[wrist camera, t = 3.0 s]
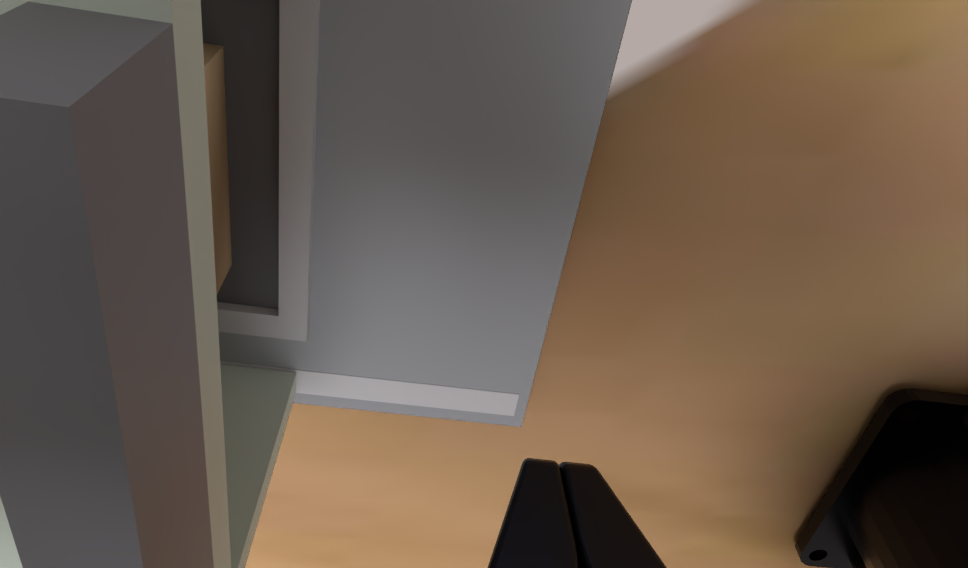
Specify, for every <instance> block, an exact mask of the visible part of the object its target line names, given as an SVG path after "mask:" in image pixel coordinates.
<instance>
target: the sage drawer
mask: <svg viewBox="0 0 968 568" xmlns="http://www.w3.org/2000/svg"><path fill="white" fill-rule="evenodd" d="M295 393H296V373H294V372H285V371H276V370H267V369H258V368H249V367H240V366H231V365H222V364H220V349H219V331H218V312H217V294H216V275H215V257H214V238H213V220H212V201H211V183H210V164H209V146H208V127H207V109H206V90H205V72H204V53H203V35H202V16H201V0H0V568H245V566H246V562H247V559H248V555H249V552H250V548H251V545H252V541H253V538H254V535H255V531H256V528H257V524H258V521H259V517H260V514H261V510H262V507H263V504H264V500H265V497H266V493H267V490H268V486H269V483H270V479H271V476H272V473H273V469H274V466H275V462H276V459H277V455H278V452H279V449H280V445H281V442H282V438H283V435H284V431H285V428H286V424H287V421H288V418H289V414H290V411H291V407H292V404H293V400H294V397H295Z"/></svg>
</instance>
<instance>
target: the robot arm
mask: <svg viewBox="0 0 968 568" xmlns="http://www.w3.org/2000/svg"><path fill="white" fill-rule="evenodd" d="M795 547H796V550H797V553H798V555H799V557H800V560H801V562H802V563H804V564H805V565H809V566H818V567H829V568H968V395H961V394H952V393H944V392H935V391H927V390H918V389H903V390H900V391H897V392H895V393H893V394H891V395H890V396H888V397H887V399H886V400H885V401H884V402H883V404H882V405H881V407H880V408H879V410H878V412H877V413H876V415H875V416H874V418H873V420H872V421H871V423H870V424H869V426H868V428H867V429H866V431H865V432H864V434H863V436H862V437H861V439H860V440H859V442H858V444H857V445H856V447H855V448H854V450H853V452H852V453H851V455H850V456H849V458H848V460H847V461H846V463H845V464H844V466H843V468H842V469H841V471H840V472H839V474H838V476H837V477H836V479H835V480H834V482H833V484H832V485H831V487H830V488H829V490H828V492H827V493H826V495H825V496H824V498H823V500H822V501H821V503H820V504H819V506H818V508H817V509H816V511H815V512H814V514H813V516H812V517H811V519H810V520H809V522H808V524H807V525H806V527H805V528H804V530H803V532H802V533H801V535H800V536H799V538H798V540H797V541H796V544H795ZM488 568H666V566H665V565H664V563H663V562H662V560H661V559H660V558H659V556H658V555H657V553H656V552H655V550H654V549H653V548H652V546H651V545H650V543H649V542H648V541H647V539H646V538H645V536H644V535H643V533H642V532H641V531H640V529H639V528H638V526H637V525H636V523H635V522H634V521H633V519H632V518H631V516H630V515H629V513H628V512H627V511H626V509H625V508H624V506H623V505H622V503H621V502H620V501H619V499H618V498H617V496H616V495H615V493H614V492H613V491H612V489H611V488H610V486H609V485H608V484H607V482H606V481H605V479H604V478H603V476H602V475H601V474H600V472H599V471H598V470H597V468H595V467H594V466H592V465H590V464H581V463H572V462H562V463H560V464H559V465H558V463H556V462H555V461H552V460H542V459H532V458H527V459H525V460H524V461H523V463H522V466H521V469H520V472H519V475H518V478H517V481H516V484H515V487H514V490H513V493H512V496H511V499H510V502H509V505H508V508H507V511H506V514H505V517H504V520H503V523H502V526H501V529H500V532H499V535H498V538H497V541H496V544H495V547H494V550H493V553H492V556H491V559H490V562H489V565H488Z"/></svg>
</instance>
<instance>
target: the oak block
mask: <svg viewBox="0 0 968 568" xmlns="http://www.w3.org/2000/svg"><path fill="white" fill-rule="evenodd" d="M203 53H204V72H205V90H206V109H207V127H208V146H209V164H210V183H211V201H212V220H213V238H214V257H215V275H216V294H217V293H218V291H219V289H220V287H221V285H222V283H223V281H224V279H225V277H226V275H227V273H228V271H229V269H230V267H231V265H232V257H231V231H230V206H229V180H228V154H227V128H226V103H225V77H224V51H223V46H219V45H213V44H206V43H203Z"/></svg>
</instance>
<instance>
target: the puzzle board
mask: <svg viewBox="0 0 968 568" xmlns="http://www.w3.org/2000/svg"><path fill="white" fill-rule="evenodd" d="M631 2H632V0H201V16H202V35H203V43H206V44H213V45H219V46H223V51H224V77H225V103H226V128H227V154H228V180H229V206H230V231H231V257H232V265H231V267H230V269H229V271H228V273H227V275H226V277H225V279H224V281H223V283H222V285H221V287H220V289H219V291H218V293H217V312H218V331H219V349H220V364H222V365H231V366H240V367H249V368H258V369H267V370H276V371H285V372H294V373H296V393H295V397H294V400H293V403H299V404H308V405H318V406H327V407H337V408H346V409H356V410H365V411H375V412H384V413H393V414H403V415H412V416H422V417H431V418H441V419H450V420H460V421H469V422H479V423H488V424H497V425H507V426H516V427H521V426H522V423H523V419H524V415H525V411H526V407H527V403H528V399H529V396H530V392H531V388H532V384H533V380H534V376H535V372H536V369H537V365H538V361H539V357H540V353H541V349H542V345H543V342H544V338H545V334H546V330H547V326H548V322H549V318H550V315H551V311H552V307H553V303H554V299H555V295H556V291H557V288H558V284H559V280H560V276H561V272H562V268H563V265H564V261H565V257H566V253H567V249H568V245H569V241H570V238H571V234H572V230H573V226H574V222H575V218H576V214H577V211H578V207H579V203H580V199H581V195H582V191H583V187H584V184H585V180H586V176H587V172H588V168H589V164H590V160H591V157H592V153H593V149H594V145H595V141H596V137H597V133H598V130H599V126H600V122H601V118H602V114H603V110H604V107H605V103H606V99H607V95H608V91H609V87H610V83H611V80H612V76H613V71H614V68H615V64H616V60H617V56H618V53H619V49H620V45H621V41H622V37H623V33H624V29H625V26H626V22H627V18H628V14H629V10H630V6H631Z"/></svg>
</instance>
